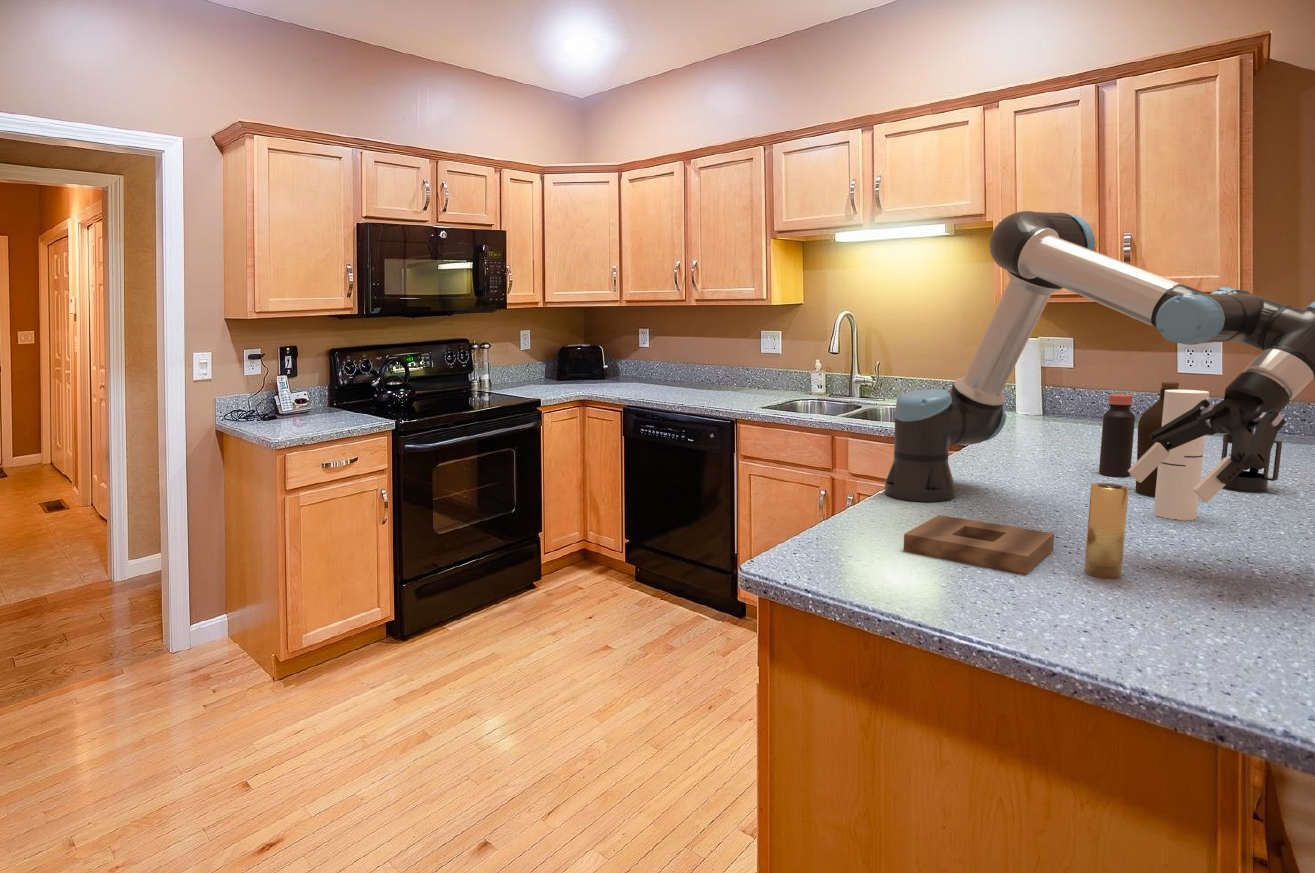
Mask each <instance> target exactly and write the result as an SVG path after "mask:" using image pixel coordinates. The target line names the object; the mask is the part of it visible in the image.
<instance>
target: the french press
mask: <svg viewBox="0 0 1315 873" xmlns="http://www.w3.org/2000/svg"><path fill="white" fill-rule="evenodd" d="M1255 428H1257V426H1256V427H1255ZM1253 436H1254V434H1253ZM1232 438H1233V436H1231V435H1228V434H1223V435H1222V441H1223V442H1222V450H1221V459H1220V461H1222V460H1223V459H1224V458H1225V457H1226V458H1229V459H1230V460H1231V461H1232V460H1233V459H1232V458H1231V457H1227V455H1228V449H1229V448H1228V447H1229V444H1232ZM1251 441H1252V439H1251ZM1273 444H1276V445H1275V454H1274V456H1275V457H1274V462H1273V464H1274V465H1273V473H1272V477H1269V471H1270V462H1271V461H1270V460H1271V453H1272V450H1271V451H1270V454H1269V457H1268V459H1267V462H1266V465H1265V467H1264V468H1263V473H1260V472H1259V470H1257V469H1256V468H1249V469H1248V470H1249V471H1248V470H1243V471H1242V472H1241V473H1240V474H1239V475H1238V476H1237V477H1236V478H1235V479H1234V480H1233V481H1232V482H1231V483H1229V484H1226V485H1225V486H1224V487H1223V488H1222V489H1223V490H1227V491H1232V492H1238V493H1247V494H1248V493H1250V494H1251V493H1254V494H1257V493H1260V494H1261V493H1267V492H1268V491H1269V488H1268V485H1269V484H1268V483H1269V482H1270V481H1271V482H1274V481H1278V479H1279V472H1280V465H1281V464H1280V463H1281V458H1282V457H1281V455H1282V448H1283V442H1282V441H1280V440H1275V441H1274V443H1273ZM1231 453H1232V447H1231V450H1230V455H1232V454H1231ZM1222 489H1221V490H1222Z"/></svg>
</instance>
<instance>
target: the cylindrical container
mask: <svg viewBox="0 0 1315 873" xmlns="http://www.w3.org/2000/svg"><path fill="white" fill-rule="evenodd" d="M1205 399H1207V400H1208V401H1209V402H1210V400H1209V399H1210V391H1209V390H1207V391H1206V390H1197V389H1196V390H1195V389H1179V390H1165V395H1164V406H1163V416H1162V426H1164V425H1166V424H1167V423H1169V422H1171V421H1172V420H1174V419H1176V418H1177V417H1179V416H1181V415H1182V414H1184V413H1186V412H1188V411H1189V410H1191V409H1193V408H1194V407H1195V406H1196V405H1197V404H1198V403H1199V402H1201V401H1202V400H1205ZM1205 436H1206V435H1204V436H1202V437H1200V438H1197V439H1195V440H1192V441H1190V442H1188V443H1185V444H1183V445H1181V446H1178V447H1176V448H1173V449H1171V450H1169V454H1170V455H1169V456H1168V457H1166V458H1165V459H1164V460H1163V461H1162V462H1161V463H1160V464H1159V465H1158V471H1157V482H1156V493H1155V497H1154V505H1153V515H1154V516H1156V517H1159V516H1160V517H1159V518H1162V517H1164V518H1163V519H1167V518H1169V519H1168V520H1173V519H1177V520H1176V521H1194V519H1195V520H1197V518H1198V507H1199V498H1200V497H1199V496H1198V495H1197V494H1196V493H1195V492H1194V491H1193V490H1192V489H1193V488H1194V487H1195V486H1196V485H1197V484H1198V483H1199V482H1200V481H1201V480H1202V479H1201V478H1202V469H1203V468H1202V467H1203V458H1204V449H1205V448H1204V447H1205V439H1206V438H1205ZM1167 444H1168V443H1167Z"/></svg>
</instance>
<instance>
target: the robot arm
mask: <svg viewBox="0 0 1315 873" xmlns="http://www.w3.org/2000/svg"><path fill="white" fill-rule="evenodd" d="M1095 250H1096V236H1095V235H1094V231H1093V228H1092V226H1091V225H1090V224H1089V223H1088V222H1087V220H1085V219H1084V218H1083V217H1081V216H1077V215H1075V214H1070V213H1066V212H1044V211H1033V210H1025V211H1024V210H1022V211H1017V212H1013V213H1012V214H1009V215H1008V216H1006V217H1005V218H1003V219H1002V220H1001V221H1000V222H998V224H997V225H996V226H995V227H994V228H993V231H992V233H991V234H990V238H989V252H990V255H991V258H992V259H993V261H994V262H995V264H996V265H997V266H999V267H1000V268H1002V269H1003V270H1005V271H1006V273H1007V275H1008V277H1009V281H1008V283H1007V285H1006V288H1005V289H1004V291H1003V294H1002V296H1001V297H1000V298H1001V299H1000V300H999V301H998V305H997V307H996V309H995V311H994V312H993V315H992V317H991V319H990V321H989V324H988V326H987V327H986V330H985V333H984V335H983V336H982V339H981V341H980V343H979V346H978V347H977V350H976V351H975V354H974V355H973V358H972V360H971V362H970V364H969V366H968V368H967V370H966V372H965V375H964V376H962V377H958V378H956V379H955V380H954V382H953V384H952V386H951V388H950V390H949V391H948V390H944V389H924V390H913V391H907V392H905V393H903V394H901V395H900V396H899V397H897V399H896V404H895V412H894V439H893V440H894V445H893V446H894V447H893V448H894V449H893V461H892V462H891V463H892V464H891V466H890V469H889V472H888V475H887V477H886V479H885V482H884V493H885V495H886V496H888V497H891V498H894V499H899V500H904V501H905V500H906V501H911V502H913V501H914V502H925V503H926V502H927V503H929V502H930V503H931V502H945V501H950V500H953V499H955V496H956V486H955V482H954V478H953V475H952V472H951V468H950V464H949V450H950V449H949V447H952V446H959V445H975V444H980V443H984V442H987V441H990V440H992V439H994V438H995V437H996V436H998V435H999V434H1000V433H1001V431H1002V430H1003V429H1004V427H1005V423H1006V421H1007V414H1006V413H1005V411H1006V405H1005V403H1006V396H1005V394H1004V391H1003V390H1004V388H1005V386H1006V384H1007V383H1008V380H1009V379H1010V376H1011V375H1012V373H1013V371H1014V369H1015V368H1016V367H1015V366H1016V365H1017V362H1018V361H1019V359H1020V358H1021V356H1022V355H1021V354H1022V352H1023V350H1024V349H1025V348H1026V345H1027V344H1028V341H1029V340H1030V339H1029V338H1031V335H1032V333H1033V332H1034V329H1035V327H1036V325H1037V323H1038V321H1040V320H1039V319H1040V317H1041V316H1042V314H1043V312H1044V309H1045V307H1046V306H1047V304H1048V301H1049V300H1050V299H1051V296H1052V294H1055V293H1057V292H1060V291H1062V290H1064V289H1065V290H1067V291H1070V292H1072V293H1074V294H1077V295H1079V296H1081V297H1083V298H1086V299H1088V300H1090V301H1093V302H1094V303H1095V302H1096V303H1097V304H1100V305H1102V306H1104V307H1106V308H1109V309H1112V310H1113V311H1117V312H1119V313H1121V314H1123V315H1126V316H1127V317H1130V318H1132V319H1134V320H1138V321H1139V322H1141V323H1144V324H1146V325H1148V326H1151V327H1154V328H1156V329H1157V330H1158V332H1159V334H1160V335H1161V336H1162V337H1163V339H1166V340H1167V341H1169V342H1172V343H1175V344H1183V345H1189V346H1192V345H1200V344H1210V343H1211V344H1212V343H1227V342H1228V343H1231V342H1232V343H1233V342H1238V343H1241V344H1244V345H1248V346H1251V347H1253V348H1256V349H1259V350H1261V351H1262V352H1261V353H1260V354H1259V355H1257V356H1256V357H1255V358H1254V359H1253V360H1252V361H1250V363H1249V364H1248V365H1247V366H1246V367H1245V368H1244V370H1243V372H1241V373H1239V374H1238V376H1236V377H1235V379H1233V380H1232V381H1231V382H1230V383H1229V384H1228V385H1227V386H1226V387H1225V389H1224V397H1223V399H1222V400H1221V401H1220V402H1218V403H1216V404H1213V403H1211V402H1210V400H1209V401H1208V400H1207V399H1205V400H1202V401H1201V402H1199V403H1198V404H1197V405H1196V406H1195V407H1194V408H1193V409H1191V410H1189V411H1188V412H1186V413H1184V414H1182V415H1181V416H1179V417H1177V418H1176V419H1174V420H1172V421H1171V422H1169V423H1167V424H1166V425H1164V426H1162V427H1161V428H1159V429H1157V430H1155V431H1154V432H1152V433H1151V434H1150V435H1149V437H1150V439H1151V440H1152V441H1153V442H1154V443H1153V445H1152V446H1151V447H1150V448H1149V449H1148V450H1147V451H1146V452H1145V453H1144V454H1143V455H1142V456H1141V458H1140V459H1139V460H1138V461H1137V460H1136V462H1135V463H1134V464H1132V465H1131V468H1130V469H1129V470H1128V472H1129V473H1130V475H1131V476H1132V477H1133V478H1134V480H1135V482H1136V481H1137V482H1140V483H1141V482H1142V481H1143V480H1144V479H1145V478H1146V477H1147V476H1148V475H1149V474H1150V473H1151V472H1152V471H1153V470H1154V469H1155V468H1156V467H1157V466H1158V465H1159V464H1160V463H1161V462H1162V461H1163V460H1164V459H1165V458H1166V457H1168V456H1169V455H1170V454H1169V450H1171V449H1173V448H1176V447H1178V446H1181V445H1183V444H1185V443H1188V442H1190V441H1192V440H1195V439H1197V438H1200V437H1202V436H1204V435H1205V436H1206V435H1208V436H1214V435H1216V434H1221V435H1222V434H1223V435H1224V434H1228V435H1231V436H1233V438H1232V443H1231V448H1232V453H1231V452H1230V453H1229V454H1228V456H1229V457H1225V458H1224V459H1223V460H1222V461H1221V460H1220V461H1219V462H1218V463H1217V464H1216V465H1215V466H1214V467H1213V468H1212V469H1211V470H1209V472H1208V473H1207V474H1206V475H1205V476H1204V477H1203V478H1202V479H1201V480H1200V482H1199V483H1198V484H1197V485H1196V486H1195V487H1194V488H1193V489H1192V490H1193V491H1194V492H1195V493H1196V494H1197V495H1198V496H1199V498H1200V500H1201V501H1202V502H1203V503H1207V504H1208V502H1210V501H1211V500H1212V499H1213V498H1214V497H1215V496H1216V495H1217V494H1218V493H1219V492H1220V491H1221V490H1222V488H1223V487H1224V486H1225V485H1226V484H1229V483H1231V482H1232V481H1233V480H1234V479H1235V478H1236V477H1237V476H1238V475H1239V474H1240V473H1241V472H1242V471H1248V470H1250V468H1256V469H1257V470H1258V471H1260V470H1262V469H1263V470H1264V467H1265V465H1266V462H1267V459H1268V457H1269V454H1270V451H1271V452H1272V448H1273V445H1274V444H1275V443H1274V441H1276V438H1277V434H1278V432H1279V431H1280V429H1281V428H1283V426H1284V425H1285V424H1286V421H1287V420H1286V419H1285V418H1284V417H1283V416H1282V414H1281V412H1282V411H1283V410H1284V409H1285V408H1286V407H1287V406H1288V405H1290V404H1289V403H1290V401H1291V400H1293V399H1294V398H1295V397H1296V396H1297V395H1299V394H1300V393H1301V392H1302V390H1304V389H1305V388H1306V387H1307V385H1309V384H1310V382H1312V381H1313V380H1314V379H1315V301H1313V302H1311V303H1310V304H1309V305H1307V306H1306V307H1305V308H1301V307H1297V306H1294V305H1293V306H1292V305H1289V304H1286V303H1282V302H1279V301H1276V300H1273V299H1270V298H1267V297H1263V296H1260V295H1258V294H1255V293H1250V291H1248V290H1244V289H1237V288H1233V287H1229V286H1223V287H1219V288H1217V289H1216V290H1215V291H1212V292H1210V293H1208V292H1205V291H1201V290H1199V289H1197V288H1193V287H1191V286H1187V285H1184V284H1183V283H1180V282H1177V281H1175V280H1172V279H1169V278H1167V277H1165V276H1161V275H1159V274H1156V273H1154V272H1151V271H1148V270H1146V269H1143V268H1140V267H1138V266H1135V265H1132V264H1130V263H1127V262H1125V261H1122V260H1120V259H1116V258H1114V257H1111V256H1108V255H1105V254H1103V253H1101V252H1097V251H1095ZM1208 420H1209V422H1208ZM1256 426H1257V427H1256ZM1255 428H1256V429H1255ZM1254 429H1255V431H1254ZM1253 435H1254V436H1253ZM1251 439H1252V441H1251ZM1167 443H1168V444H1167ZM1231 454H1232V455H1231ZM1270 455H1271V454H1270ZM1229 458H1232V459H1233V460H1232V461H1231V460H1230V459H1229Z"/></svg>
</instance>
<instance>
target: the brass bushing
mask: <svg viewBox="0 0 1315 873" xmlns="http://www.w3.org/2000/svg"><path fill="white" fill-rule="evenodd" d="M1128 499H1129V486H1126V485H1123V484H1118V483H1113V482H1112V483H1110V482H1095V483H1091V484H1090V492H1089V509H1088V520H1087V533H1086V534H1087V536H1086V543H1085V544H1086V545H1085V546H1086V548H1085V558H1084V559H1085V560H1084V573H1085V574H1087V575H1089V576H1092V577H1095V578H1100V579H1106V580H1109V579H1110V580H1111V579H1113V580H1116V579H1119V578H1121V577H1122V570H1123V569H1122V568H1123V561H1124V560H1123V559H1124V548H1125V538H1126V537H1125V536H1126V524H1127V510H1128V503H1129V502H1128V501H1129V500H1128Z"/></svg>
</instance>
